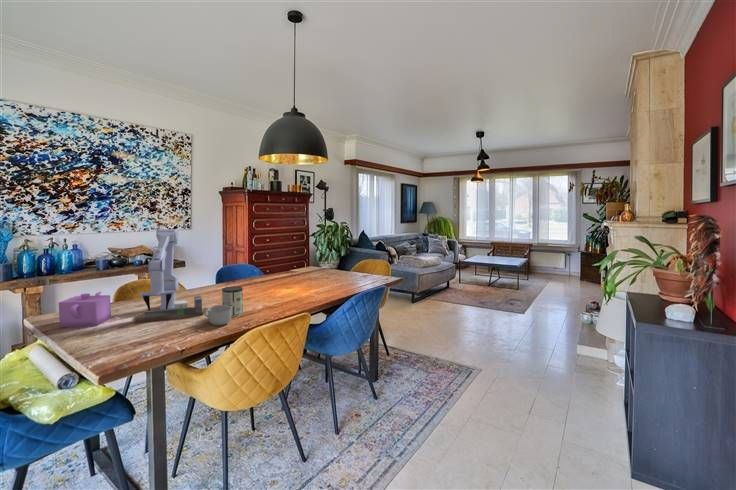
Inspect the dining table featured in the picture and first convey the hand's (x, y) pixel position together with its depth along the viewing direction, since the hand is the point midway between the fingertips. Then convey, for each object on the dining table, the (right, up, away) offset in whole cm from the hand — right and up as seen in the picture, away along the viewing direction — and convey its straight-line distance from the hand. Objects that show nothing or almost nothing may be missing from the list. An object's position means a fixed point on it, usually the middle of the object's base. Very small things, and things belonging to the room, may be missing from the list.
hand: (158, 309), depth 183 cm
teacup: (+33, -6, -7) cm, 35 cm away
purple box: (-29, -5, -9) cm, 30 cm away
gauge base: (+5, -4, +3) cm, 7 cm away
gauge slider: (+10, -2, +4) cm, 11 cm away
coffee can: (+35, -4, +8) cm, 36 cm away
